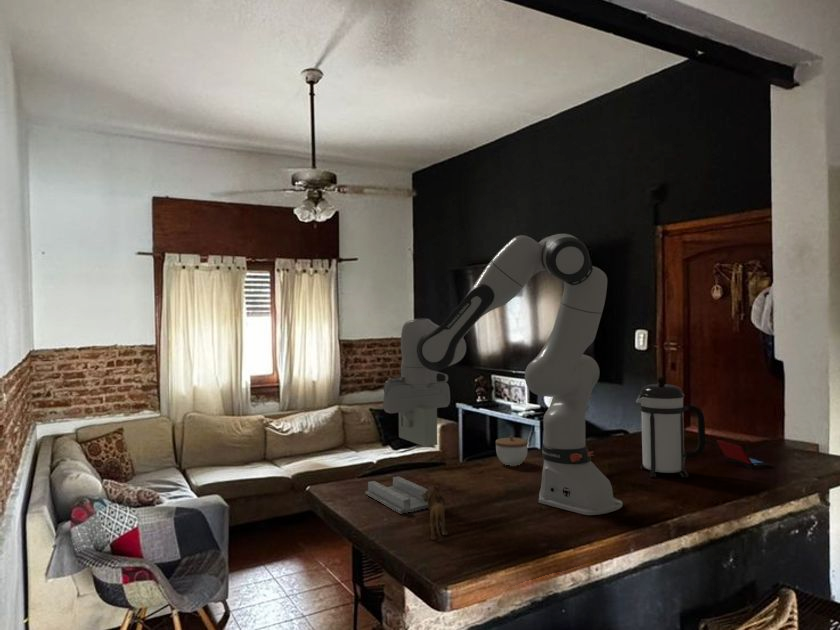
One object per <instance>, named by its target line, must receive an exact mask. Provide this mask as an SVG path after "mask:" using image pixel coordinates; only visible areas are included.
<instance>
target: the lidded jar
mask: <svg viewBox="0 0 840 630" xmlns="http://www.w3.org/2000/svg"><path fill="white" fill-rule="evenodd" d="M528 445H529V443H528V440H527V439H525V438H520V437H514V436H513V435H509V437H501V438H498V439H496V440H495V450H496V456H497V458H498V459H499V461H500V462H501V463H502V464H503V465H504V464H505V465H504V466H506V465H510V466H509V467H517V465H519V466H521V465H522V463H523V462H524V461H525V460H526V458H527V455H528ZM520 464H521V465H520Z"/></svg>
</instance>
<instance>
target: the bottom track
mask: <svg viewBox="0 0 840 630" xmlns="http://www.w3.org/2000/svg"><path fill="white" fill-rule="evenodd" d="M367 487H368V488H367V490H366V491H364V494H367V495H368V496H370V497H372V498H374V499H375V500H377V501H379V502H381V503H382V504H384V505H386V506H387V507H389V508H391V509H392V511H393V510H394V511H393V512H395V511H396V512H398V513H400V514H402V515H404V514H403V513H406V514H409V513H408V512H411V513H414V511H415V512H418V510H419V511H422V510H421V509H424V510H426V509H425V508H428V509H429V505H428V502H424V500H423V499H422V496H421V495H422V494H424V493H425V492H426V491H427V490H428V488H426V487H424V486H421V485H418V484H416V483H414V482H412V481H409V480H407V479H405V478H404V477H401V476H394V477H392V485H391V486H385V485H384V484H381V483H379V482H377V481H376V480H373V481H368V482H367ZM368 496H367V497H368ZM375 500H374V501H375ZM377 501H376V502H377ZM382 504H381V505H382ZM384 505H383V506H384ZM386 506H385V507H386ZM387 507H386V508H387ZM389 508H388V509H389ZM391 509H390V510H391ZM396 512H395V513H396ZM398 513H397V514H398ZM400 514H399V515H400Z"/></svg>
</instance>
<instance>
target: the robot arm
mask: <svg viewBox="0 0 840 630" xmlns="http://www.w3.org/2000/svg"><path fill="white" fill-rule="evenodd" d="M543 271H545V272H548V273H550V274H551V275H553V276H554V277H555V278H557V279H559V280H560V281H563V293H562V297H561V299H560V302H559V303H560V304H559V306H558V311H557V314H556V318H555V320H554V321H555V322H554V325H553V328H552V331H551V332H550V334H549V336H548V338H547V341H546V342H545V343H544V345H543V347H542V349H541V350H540V351H539V353H538V354H537V356H535V358H534V359H533V360H531V361H530V362H529V363H528V365H527V366H526V368H525V371H524V381H525V385H526V386H527V389H528V390H529V391H530V392H531V393H533V394H535V395H537V396H542V397H548V398H551V397H552V398H551V401H550V404H549V407H548V409H547V410H546V411H545V413H544V415H543V421H542V422H543V424H542V425H543V443H542V445H541V446H542V449H541V452H542V453H541V454H542V455H541V457H542V458H543V467H542V474H541V485H540V490H539V494H538V503H540V504H542V505H546V506H550V507H553V508H554V507H555V508H558V509H562V510H564V511H565V510H566V511H569V512H573V513H576V514H580V515H584V516H596V515H597V516H598V515H604V514H608V513H611V512H615V511H617V510H619V509H622V507H623V506H624V505H623V504H624V503H623V501H622V500H620V499H618V498H616V497H614V493H613V486H612V484H611V481H610V480H609V478H607V477H606V475H605V474H603V472H602V471H601V470H600V469H599V468H598V467H597V466H596V465H595V464H594V463H593V462H592V461H591V460H592V458H591V457H592V456H594V454H593V453H594V451H593V450H591V451H589V449H588V446H587V445H586V417H587V410H588V405H589V402H590V397H591V393H592V391H593V389H594V387H595V385H596V384H597V383H598V381H599V379H600V373H601V372H600V367H599V364H598V363H597V361H596V359H594V358H593V357H591V356H590V355H587V354H584V353H585V352H586V350H587V349H588V348H589V346H591V345H592V344H593V342H594V341H595V339H596V336H597V332H598V329H599V325H600V321H601V318H602V315H603V311H604V307H605V302H606V298H607V289H608V277H607V274H606V273H605V272H604V271H603V270H602V269H600V268H599V267H597V266H593V265H592V260H591V256H590V253H589V250H588V248H587V246H586V244H585V243H584V242H583V241H582V240H580V239H579V238H577V237H576V236H575V235H572V234H569V233H562V232H555V233H551V234H549V235H546V236H543V237H541V238H539V239H537V240H535V239H533V238H532V237H530V236H527V235H516V236H515V237H513V238H512V239H510V241H509V242H507V243H506V244H505V245H504V246H503V247H501V249H500V250H499V251H498V252H497V253H496V255H494V256H493V257H492V259H491V260H490V261H489V263H488V264H487V265H486V267H485V268H484V269H483V271H482V273H481V274H480V275H479V276H478V278H477V280H476V281H475V283H474V284H473V286H472V287H471V288H470V290H469V291H468V293H467V295H466V296H465V297H464V298H463V299H462V300H461V302H460V303H458V305H457V306H456V307H455V309H453V311H452V312H451V313H450V314H449V315H448V317H446V319H445V320H444V321H443V322H442V323H441V324H440V325H438V324H436V323H434V322H433V321H432V319H429V318H428V317H420V318H414V319H411V320H407V321H405V323H403V325H402V328H401V335H400V352H401V356H402V359H401V363H400V377H396V378H388V380H387V381H385V383H384V384H383V392H384V393H383V401H382V408H383V410H384V412H385V413H387V414H397V413H398V414H399V412H401V415H402V417H403V418H404V420H405V426H406V427H407V428H409V427H413V421H411V420H410V419H409V417H408V415H409V411H414V409H415V407H417V406H426V405H427V406H431V407H435V408H437V409H440V408H447V407H449V406H450V404H451V390H450V385H449V384H448V383H447V382H448V381H449V375H448V374H446V373H444V372H440V371H442V370H444V369H446V368H447V367H450V366H453V365H455V364H458V363H459V362H461V360H463V359H464V357H465V355H466V353H467V342H466V339H465V338H464V337H465V336H466V335H467V334H468V332H469V331H470V330H471V329H472V327H474V325H475V324H476V323H477V322H478V321H479V320H480V319H481V318H482V317H483V316H485V315H486V314H488V313H489V312H492V311H494V310H495V309H498V308H500V307H503V306H505V305H507V304H508V303H509V302H511V300H513V299H514V298H515V297H516V296H517V295H518V294H519V293H520V292H521V291H522V289H524V287H525V286H526V284H527V283H528V282H529V281H530V280H531V279H532V277H533V276H535V275H537V274H538V273H540V272H543Z"/></svg>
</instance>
